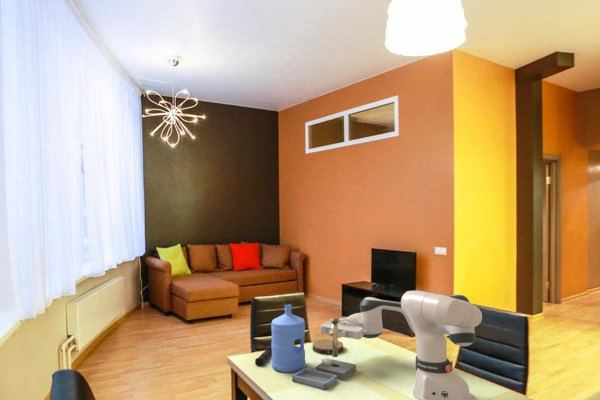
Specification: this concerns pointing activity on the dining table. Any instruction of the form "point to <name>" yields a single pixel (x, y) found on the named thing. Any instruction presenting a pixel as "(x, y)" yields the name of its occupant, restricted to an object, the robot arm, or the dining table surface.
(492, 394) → the dining table surface
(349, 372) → the block
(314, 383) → the tray
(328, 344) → the brown round disc
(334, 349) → the lock pin
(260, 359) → the hand tool
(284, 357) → the water jug
